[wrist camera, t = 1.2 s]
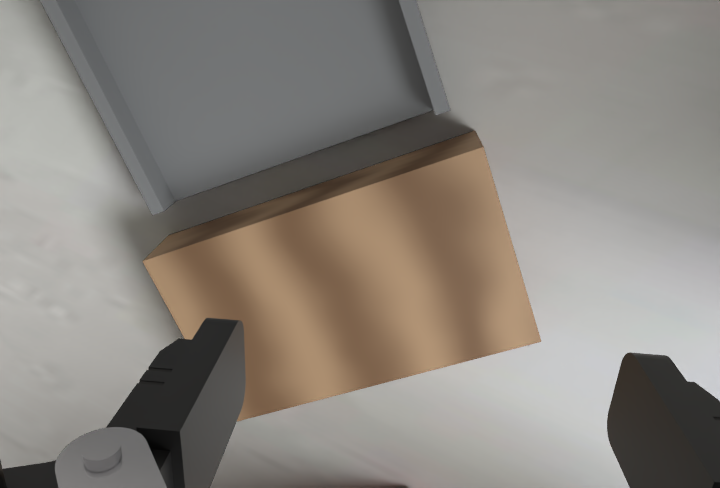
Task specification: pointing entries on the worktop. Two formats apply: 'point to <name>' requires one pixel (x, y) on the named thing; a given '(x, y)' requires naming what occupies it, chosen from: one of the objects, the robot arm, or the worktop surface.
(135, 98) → the tray
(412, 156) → the board
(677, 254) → the worktop surface
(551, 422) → the worktop surface
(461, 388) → the worktop surface
